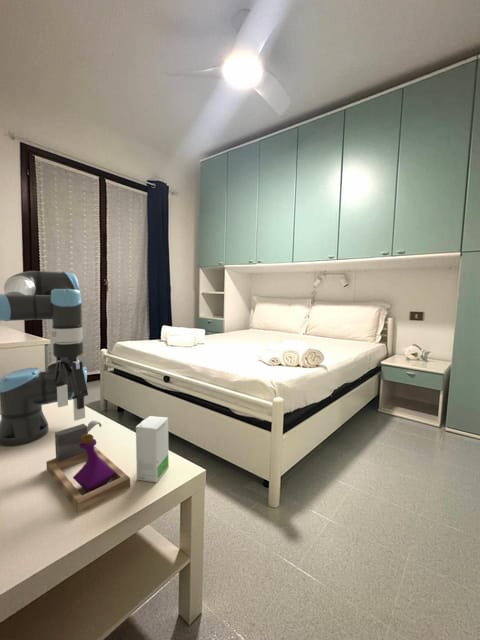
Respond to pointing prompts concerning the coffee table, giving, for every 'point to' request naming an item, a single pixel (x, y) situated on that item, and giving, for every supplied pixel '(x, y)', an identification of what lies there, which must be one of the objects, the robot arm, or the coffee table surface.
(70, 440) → the strip frame
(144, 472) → the skincare box
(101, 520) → the coffee table surface
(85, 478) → the perfume bottle
